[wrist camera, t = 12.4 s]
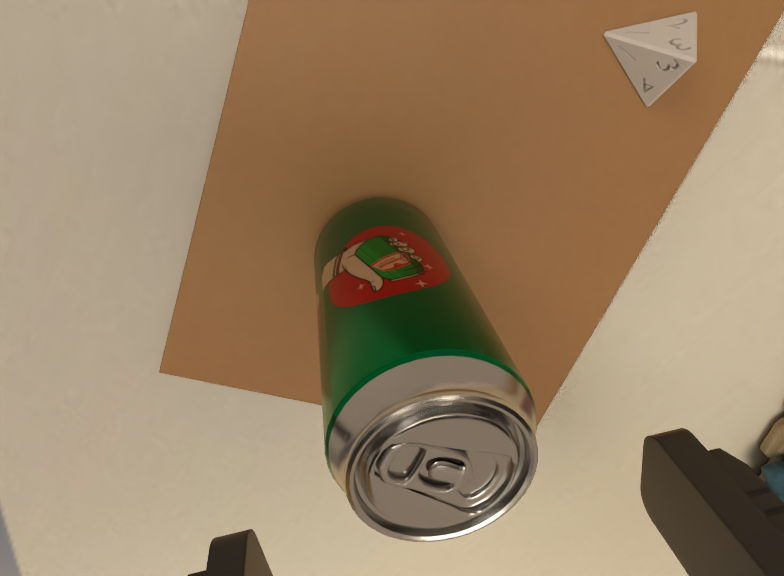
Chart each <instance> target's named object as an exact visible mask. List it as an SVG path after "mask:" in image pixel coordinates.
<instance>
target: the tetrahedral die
mask: <svg viewBox="0 0 784 576" xmlns="http://www.w3.org/2000/svg"><path fill="white" fill-rule="evenodd" d="M604 37H605V38H606V40H607V42H608V43H609V45H610V47H611V48H612V50H613V52H614V53H615V55H616V57H617V58H618V60H619V62H620V63H621V65H622V67H623V68H624V70H625V72H626V73H627V75H628V77H629V78H630V80H631V82H632V83H633V85H634V87H635V88H636V90H637V92H638V94H639V95H640V97H641V99H642V100H643V102H644V104H645V105H646V107H648V106H651V105H652V104H653V103H654V102H655V101H656V100H657V99H658V98H659V97H660V96H661V95H662V94H663V93H664V92H665V91H666V90H667V89H668V88H669V87H670V86H671V85H673V84H674V83H675V82H676V81H677V80H678V79H679V78H680V77H681V76H682V75H683V74H684V73H685V72H686V71H687V70H688V69H689V68H690V67H691V66H692V65H693V64H695V63H696V62H697V13H696V11H695V12H690V13H686V14H681V15H677V16H672V17H668V18H663V19H659V20H655V21H650V22H646V23H641V24H637V25H632V26H628V27H623V28H619V29H614V30H610V31H606V32H605V33H604Z"/></svg>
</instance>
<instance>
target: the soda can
mask: <svg viewBox="0 0 784 576" xmlns="http://www.w3.org/2000/svg"><path fill="white" fill-rule="evenodd" d="M314 272H315V289H316V307H317V324H318V341H319V358H320V375H321V393H322V410H323V427H324V444H325V456H326V460H327V464H328V468H329V470H330V472H331V474H332V476H333V478H334V480H335V481H336V482H337V484H338V485H339V486H340V488H341V489H342V490H343V491H344V492H345V493H346V496H347V498H348V500H349V503H350V505H351V507H352V509H353V510H354V511H355V513H356V514H357V515H358V517H359V518H360V519H361V520H362V521H363V522H365V523H366V524H367V525H368V526H370V527H371V528H373V529H374V530H376V531H378V532H380V533H382V534H384V535H387V536H389V537H393V538H397V539H400V540H406V541H414V542H432V541H443V540H448V539H453V538H457V537H460V536H463V535H467V534H470V533H472V532H475V531H477V530H479V529H481V528H484V527H485V526H487V525H489V524H491V523H492V522H494V521H496V520H497V519H499V518H500V517H501V516H503V515H504V514H505V513H507V512H508V511H509V510H510V509H511V508H512V507H513V506H514V505H515V504H516V503H517V502H518V501H519V500H520V499H521V497H522V496H523V495H524V494H525V492H526V490H527V489H528V487H529V486H530V484H531V482H532V479H533V477H534V474H535V472H536V467H537V462H538V446H537V441H536V436H535V433H536V428H537V411H536V406H535V401H534V399H533V397H532V394H531V392H530V389H529V388H528V386H527V384H526V382H525V381H524V379H523V377H522V376H521V374H520V372H519V370H518V369H517V367H516V365H515V364H514V362H513V360H512V358H511V357H510V355H509V353H508V352H507V350H506V348H505V346H504V345H503V343H502V341H501V340H500V338H499V336H498V334H497V333H496V331H495V329H494V328H493V326H492V324H491V322H490V321H489V319H488V317H487V315H486V314H485V312H484V310H483V309H482V307H481V305H480V303H479V302H478V300H477V298H476V297H475V295H474V293H473V291H472V290H471V288H470V286H469V285H468V283H467V281H466V279H465V278H464V276H463V274H462V273H461V271H460V269H459V267H458V266H457V264H456V262H455V261H454V259H453V257H452V255H451V254H450V252H449V250H448V249H447V247H446V245H445V243H444V242H443V240H442V238H441V237H440V235H439V233H438V231H437V230H436V228H435V226H434V225H433V223H432V222H431V220H430V219H429V218H428V217H427V216H426V215H425V214H424V213H423V212H422V211H420V210H419V209H418V208H416V207H415V206H413V205H411V204H409V203H407V202H404V201H401V200H398V199H393V198H387V197H375V198H369V199H364V200H361V201H358V202H355V203H353V204H351V205H348V206H346V207H345V208H343V209H342V210H340V211H339V212H338V213H336V214H335V215H334V216H333V217H332V218H331V219H330V220H329V221H328V223H327V224H326V225H325V226H324V228H323V229H322V231H321V233H320V235H319V237H318V240H317V243H316V246H315V252H314Z"/></svg>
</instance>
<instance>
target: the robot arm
mask: <svg viewBox="0 0 784 576" xmlns="http://www.w3.org/2000/svg"><path fill="white" fill-rule="evenodd" d="M641 495H642V500H643V503H644V506H645V508H646V511H647V513H648V515H649V517H650V518H651V520H652V521H653V523H654V524H655V526H656V527H657V529H658V530H659V532H660V533H661V535H662V536H663V538H664V539H665V541H666V542H667V544H668V545H669V547H670V548H671V550H672V551H673V552H674V554H675V555H676V557H677V558H678V560H679V561H680V563H681V564H682V566H683V567H684V569H685V570H686V572H687V573H688V575H689V576H784V502H783V501H782V500H781V499H780V498H779V497H778V496H777V495H776V494H775V493H774V492H773V491H772V492H771V491H770V490H769V487H768V486H767V485H766V484H765V482H764V481H763V480H762V479H761V478H760V477H759V476H758V475H757V474H756V473H755V472H754V471H753V470H752V469H751V468H750V467H749V466H748V465H747V464H745V463H744V462H742V461H740V460H739V459H737V458H735V457H733V456H732V455H730V454H728V453H727V452H725V451H723V450H722V449H720V448H718V449H714V450H710V451H707V449H706V448H705V447H704V446H703V445H702V444H701V443H700V442H699V441H698V439H697V438H696V437H695V436H694V435H693V434H692V433H691V432H690V431H688V430H687V429H684V428H680V429H676V430H672V431H668V432H663V433H659V434H655V435H651V436H647V437H646V438H645V440H644V446H643V460H642V474H641ZM188 576H273V575H272V573H271V570H270V568H269V565H268V563H267V561H266V558H265V556H264V553H263V551H262V548H261V546H260V544H259V541H258V539H257V536H256V534H255V532H254V531H253V530H252V529H250V530H246V531H242V532H237V533H233V534H229V535H225V536H221V537H216V538H214V539H213V540H212V542H211V544H210V549H209V555H208V562H207V568H206V571H201V572H197V573H193V574H189V575H188Z"/></svg>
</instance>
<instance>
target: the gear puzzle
mask: <svg viewBox="0 0 784 576" xmlns="http://www.w3.org/2000/svg"><path fill="white" fill-rule="evenodd" d="M760 450H761V451H762V452H763V453H764V454H765V455H766V456H767V457H769V458H771V459H770V460H769V462H768V463H767V464H765V465H764V466H762V467H761V474H760V475H759V477H760V478H761V479H762V480H763V481H764V482H765V484H766V485H767V486H768V487H769V490H770V491H771V492H772V491H773V492H774V493H775V494H776V495H777V496H778V497H779V498H780V499H781V500H782V501H783V502H784V417H783V418H781V419H779V420H778V421H776V422H775V424H774V425H773V427H772V429H771V430H770V432H769V433H768V435H767V436H766V438H765V439H764V440H763V442H762V443H761V446H760Z"/></svg>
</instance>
